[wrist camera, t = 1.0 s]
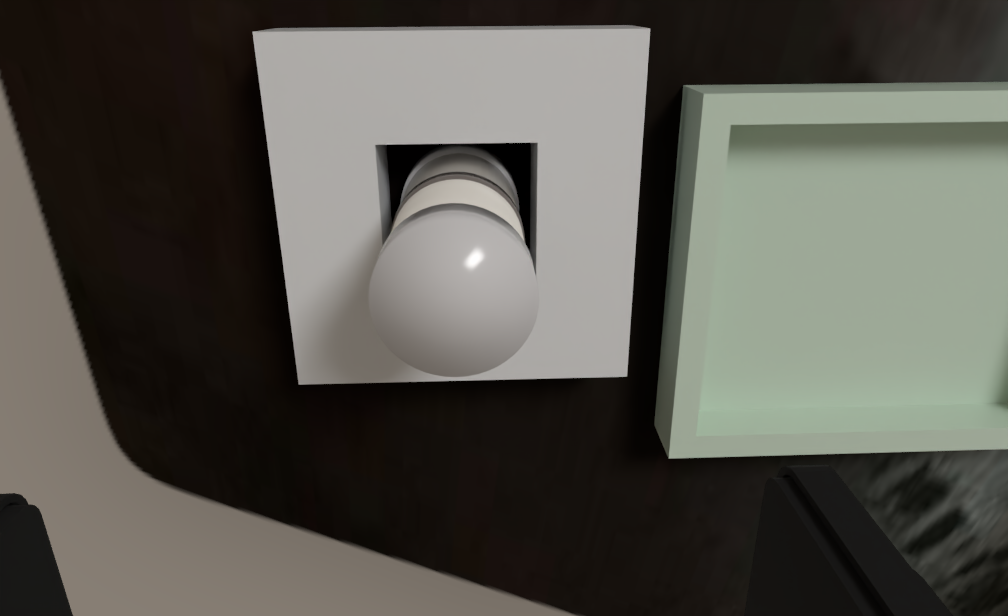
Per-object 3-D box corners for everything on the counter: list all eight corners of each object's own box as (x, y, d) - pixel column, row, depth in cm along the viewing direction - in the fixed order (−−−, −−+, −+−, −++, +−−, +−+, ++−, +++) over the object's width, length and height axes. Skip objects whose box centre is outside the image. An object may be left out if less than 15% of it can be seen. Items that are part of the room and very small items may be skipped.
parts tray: (1121, 80, 26) (1183, 88, 24) (1018, 415, 32) (1060, 447, 30) (683, 85, 26) (703, 94, 24) (654, 424, 31) (668, 458, 29)
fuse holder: (630, 25, 25) (650, 28, 22) (612, 341, 30) (627, 376, 27) (277, 28, 25) (252, 31, 22) (315, 348, 29) (298, 384, 27)
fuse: (516, 141, 27) (540, 218, 17) (517, 251, 28) (538, 375, 19) (400, 142, 26) (361, 220, 17) (407, 253, 28) (375, 379, 19)
